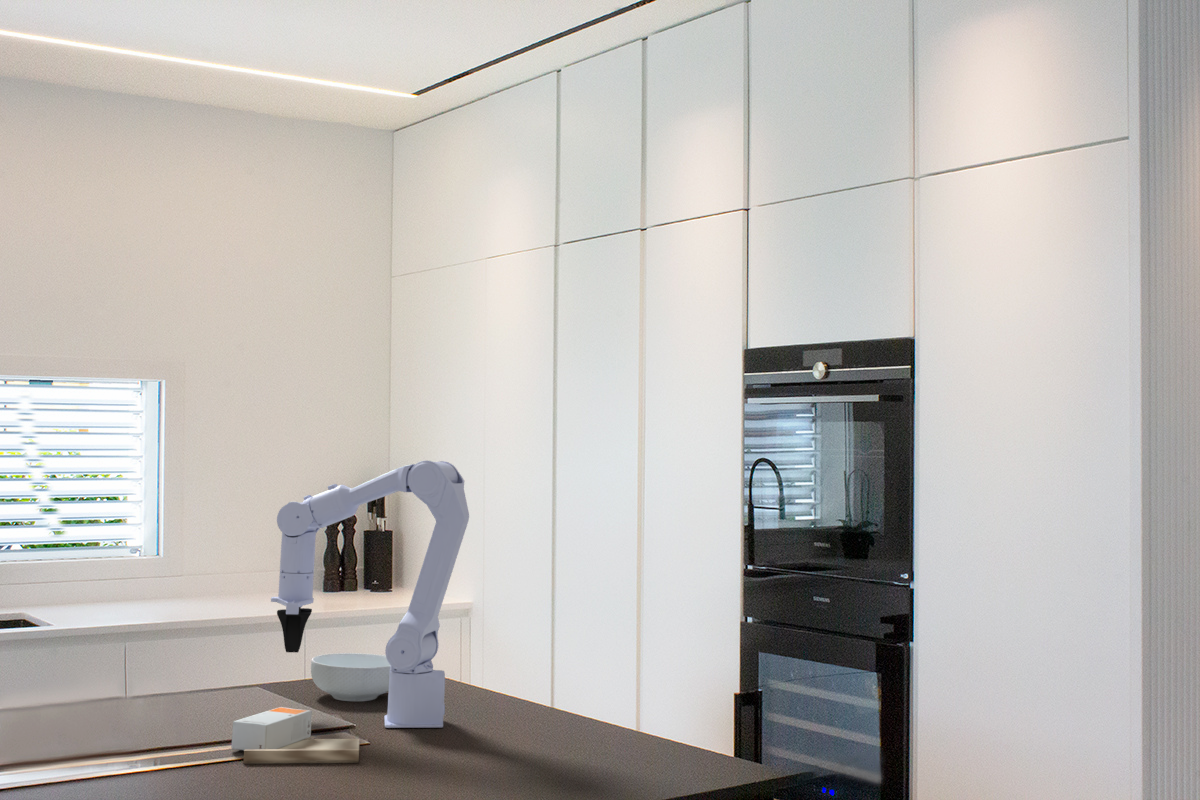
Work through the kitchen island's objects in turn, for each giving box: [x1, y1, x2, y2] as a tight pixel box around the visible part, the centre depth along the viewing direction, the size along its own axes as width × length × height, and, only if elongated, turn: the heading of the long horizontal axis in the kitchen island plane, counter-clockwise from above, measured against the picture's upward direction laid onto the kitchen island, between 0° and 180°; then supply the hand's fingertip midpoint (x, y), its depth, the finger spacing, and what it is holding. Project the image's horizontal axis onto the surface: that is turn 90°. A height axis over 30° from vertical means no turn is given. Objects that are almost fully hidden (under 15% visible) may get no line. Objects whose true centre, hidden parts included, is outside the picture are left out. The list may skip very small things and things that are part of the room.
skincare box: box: [230, 706, 313, 752], centre depth 175 cm, size 6×4×12 cm
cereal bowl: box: [310, 652, 391, 702], centre depth 213 cm, size 17×17×7 cm
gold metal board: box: [242, 738, 360, 765], centre depth 172 cm, size 16×13×2 cm
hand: (292, 651), depth 198 cm, fingers closed
